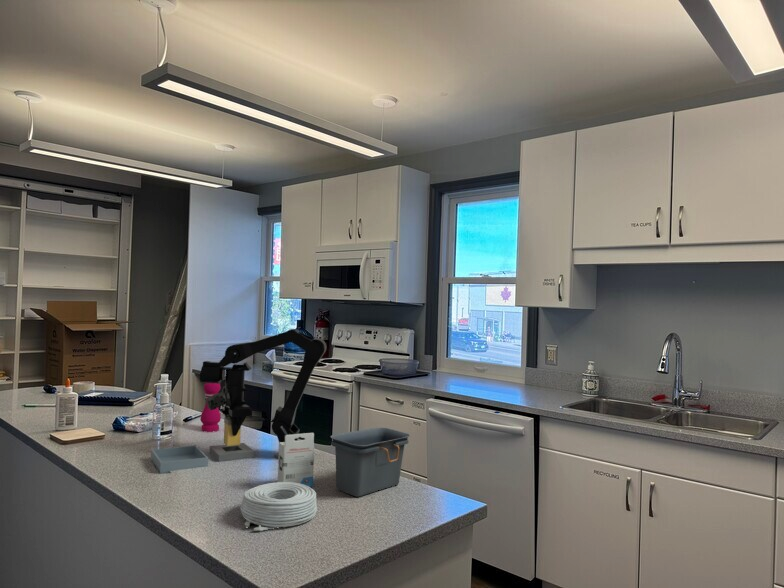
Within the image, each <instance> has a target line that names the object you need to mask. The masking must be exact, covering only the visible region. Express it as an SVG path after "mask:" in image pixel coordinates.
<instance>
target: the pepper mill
mask: <svg viewBox="0 0 784 588" xmlns="http://www.w3.org/2000/svg"><path fill="white" fill-rule="evenodd" d="M203 384H204V385H203V391H204V399H205V398H207V397H210V396H212V395H214V394H217V393H220V391H221V388H222V387H221V383H220V384H217V383H203ZM221 418H222V416H221V411H220V410H219V408H218V407H217V408H216V409H214V410H210V409H209V408H208V406H207V403H206V402H205V404H204V407H203V410H202V412H201V414H200V422H201V423H202V425H200V426H201V428H200V431H201V432H204V431H207V432H206V433H214V432H213V431H215V432H218V431H219V430H220V425H219V423H220V422H221ZM217 430H218V431H217Z"/></svg>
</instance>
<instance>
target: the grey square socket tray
mask: <svg viewBox="0 0 784 588" xmlns="http://www.w3.org/2000/svg"><path fill="white" fill-rule="evenodd" d="M208 448H209V449H208V451H209V452H208V453H209V454H210V455H211V456H212V457H213V458H214V459H215V460H216V461H217V462H218V463H222V462H230V461H239V460H240V461H241V460H247V459H255V455H256V453H255V452H256V451H255V450H254V449H253V448H251V447H250V446H249V445H247V444H246V443H244V442H240V445H232V446H227V445H226V444H218V445H210V446H209V447H208Z"/></svg>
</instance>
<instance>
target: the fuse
mask: <svg viewBox="0 0 784 588" xmlns="http://www.w3.org/2000/svg"><path fill="white" fill-rule="evenodd" d="M223 423H224V425H223V426H224V429H223V445H227V446H232V445H240V443H241V435H242V434H241V431H242V426H241V427H240V429H239V431H238V433H237V435H236V436H233V435H232V427H231V419H230V418H229V417H225V416H224V421H223Z"/></svg>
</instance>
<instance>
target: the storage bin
mask: <svg viewBox="0 0 784 588" xmlns="http://www.w3.org/2000/svg"><path fill="white" fill-rule="evenodd" d="M329 437H330V438H331V439H332V441H331V443H330V445H331V446H332V447H334V449H335V450H334V451H335V475H336V476H335V484H336V485H335V486H336V487H335V488H336V489H337V490H338V491H340V492H343V493H346V494H348V495H352V496H354V497H362V496H366V495H368V494H371V493H374V492H378V490H379V491H382V490H386V489H389V488H392V487H391V486H393V487H396V486H398V485H399V483H400V476H401V471H402V470H401V469H402V465H403V457H404V450H405V445H407V444H409V439H408V438H409V437H411V434H409V433H407V432H405V431H399V430H395V429H392V428H388V427H373V428H367V429H362V430H360V429H359V430H354V431H348V432H347V431H346V432H342V433H336V434H332V435H330V436H329ZM395 485H396V486H395ZM388 487H389V488H388ZM385 488H386V489H385ZM381 489H382V490H381Z"/></svg>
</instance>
